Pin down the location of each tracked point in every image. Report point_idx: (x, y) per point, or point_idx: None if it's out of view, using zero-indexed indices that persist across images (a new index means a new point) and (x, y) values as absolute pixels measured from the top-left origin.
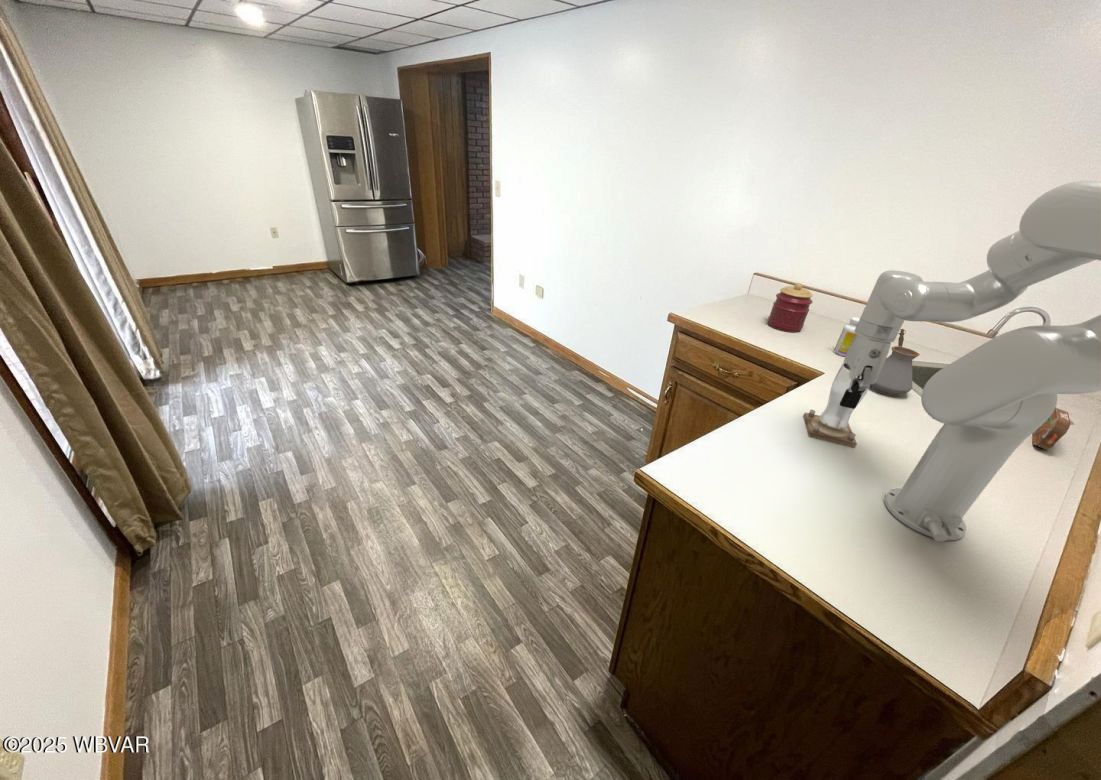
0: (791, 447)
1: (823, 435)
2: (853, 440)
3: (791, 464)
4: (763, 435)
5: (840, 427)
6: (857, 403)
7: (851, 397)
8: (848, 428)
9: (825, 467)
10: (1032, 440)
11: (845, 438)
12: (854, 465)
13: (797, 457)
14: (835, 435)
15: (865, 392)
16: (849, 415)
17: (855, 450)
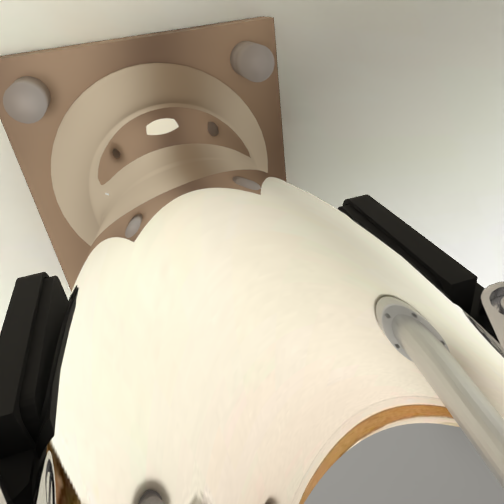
0: None
1: None
2: (246, 38)
3: (498, 258)
4: None
5: (250, 150)
6: (393, 217)
7: None
8: (92, 62)
9: (487, 156)
10: None
11: (250, 86)
12: (437, 33)
13: (454, 249)
14: (258, 144)
15: (385, 243)
16: (239, 155)
17: (292, 14)
